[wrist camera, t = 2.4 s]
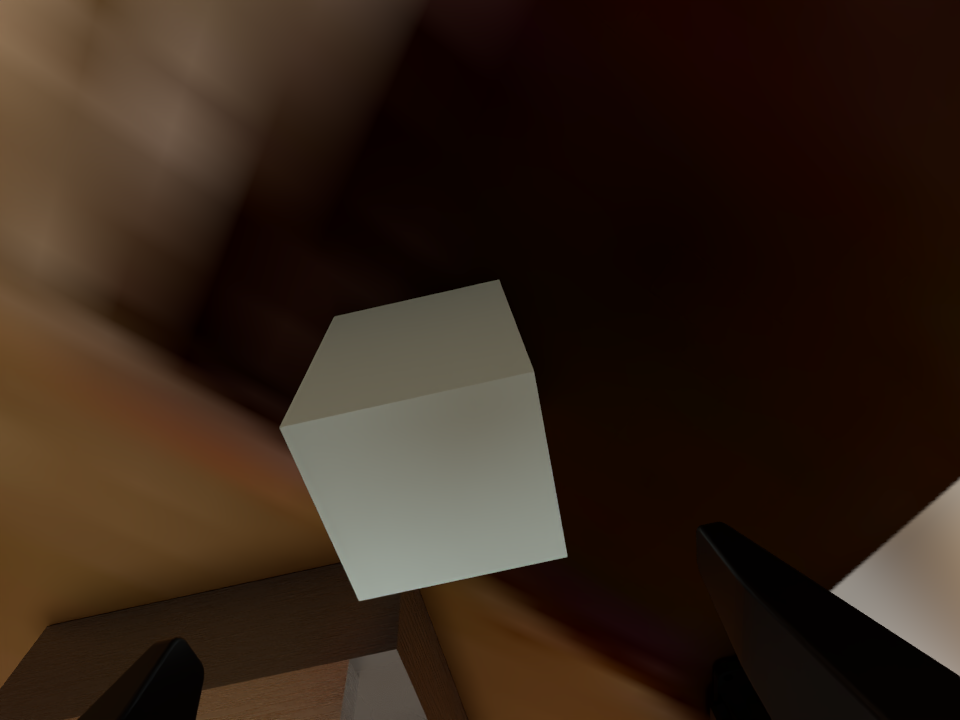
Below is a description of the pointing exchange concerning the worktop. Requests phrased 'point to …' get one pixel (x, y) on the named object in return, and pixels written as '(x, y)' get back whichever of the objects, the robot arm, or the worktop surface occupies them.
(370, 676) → the base
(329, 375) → the block
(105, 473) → the worktop surface
